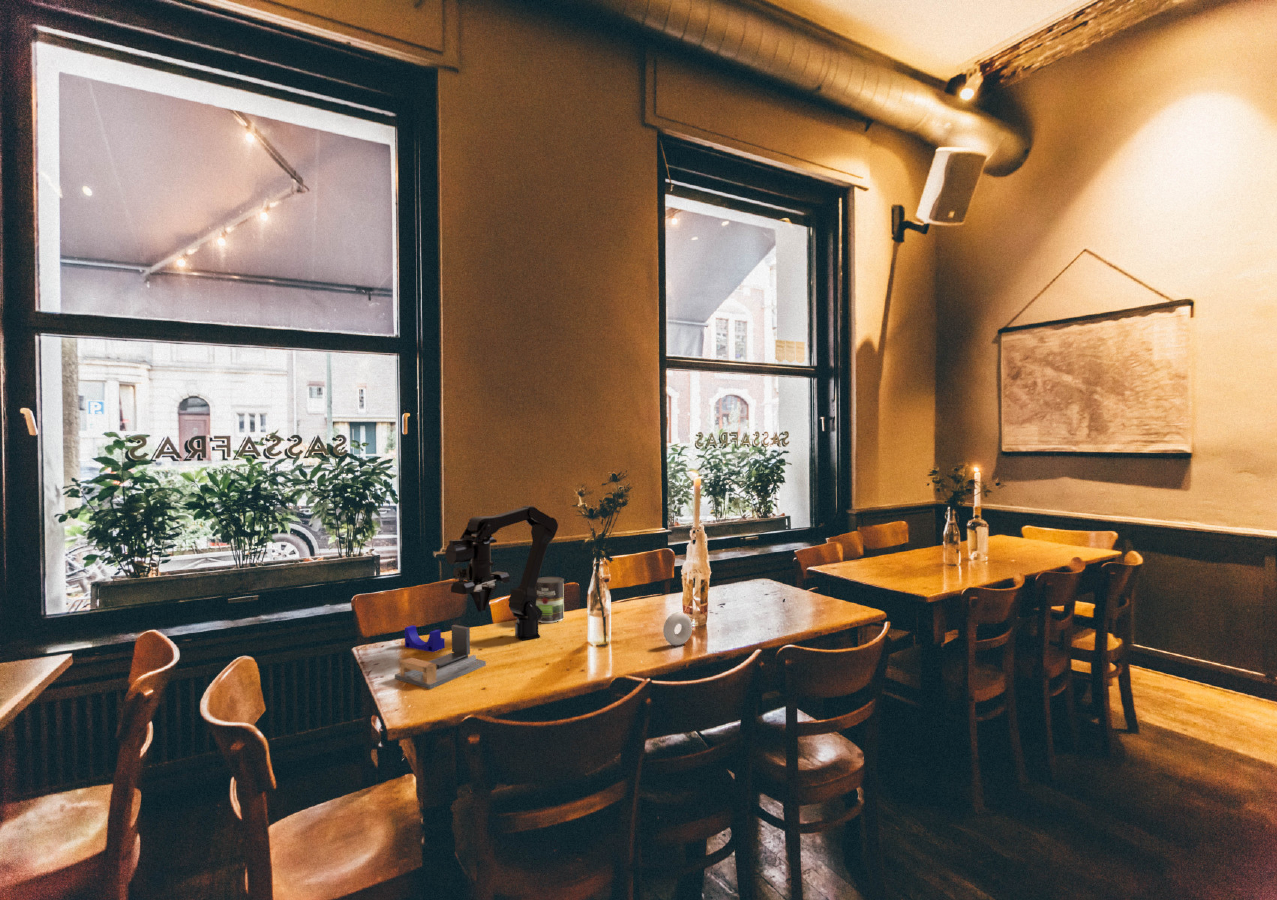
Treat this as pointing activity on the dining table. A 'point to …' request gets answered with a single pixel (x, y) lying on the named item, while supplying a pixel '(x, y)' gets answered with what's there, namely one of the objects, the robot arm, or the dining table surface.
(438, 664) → the metal angle bracket
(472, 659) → the rail base
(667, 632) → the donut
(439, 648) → the blue saddle bracket
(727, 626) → the dining table surface
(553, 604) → the coffee can
